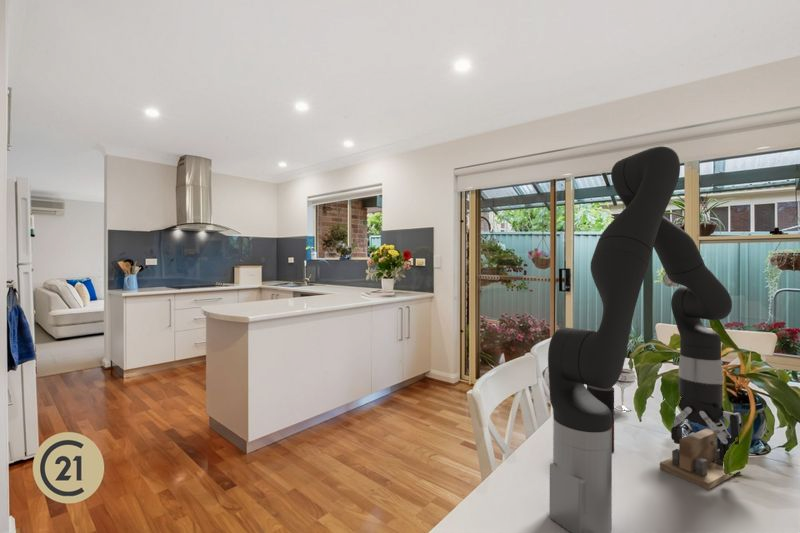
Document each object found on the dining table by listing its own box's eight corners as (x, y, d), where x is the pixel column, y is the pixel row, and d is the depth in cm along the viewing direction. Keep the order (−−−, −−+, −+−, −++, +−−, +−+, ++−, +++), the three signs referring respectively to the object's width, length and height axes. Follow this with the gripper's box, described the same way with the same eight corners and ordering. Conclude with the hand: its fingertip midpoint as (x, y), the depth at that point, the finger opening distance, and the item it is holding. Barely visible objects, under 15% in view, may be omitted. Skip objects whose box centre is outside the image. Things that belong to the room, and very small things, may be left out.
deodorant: (586, 450, 90) (586, 388, 90) (587, 440, 95) (587, 381, 95) (614, 456, 87) (614, 392, 87) (613, 445, 93) (613, 385, 93)
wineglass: (640, 410, 116) (640, 372, 116) (625, 413, 113) (625, 374, 113) (619, 403, 122) (619, 366, 122) (605, 406, 119) (605, 368, 119)
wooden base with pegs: (709, 489, 74) (709, 468, 74) (660, 467, 82) (660, 448, 82) (740, 471, 81) (740, 452, 81) (692, 453, 89) (692, 435, 89)
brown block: (692, 472, 77) (693, 444, 78) (679, 467, 80) (679, 439, 80) (720, 459, 83) (720, 432, 83) (706, 454, 85) (706, 428, 85)
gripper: (655, 371, 86) (655, 441, 86) (733, 389, 74) (733, 471, 73) (672, 367, 90) (672, 435, 90) (749, 383, 77) (749, 462, 77)
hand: (700, 451), depth 81 cm, fingers open, 8 cm apart
